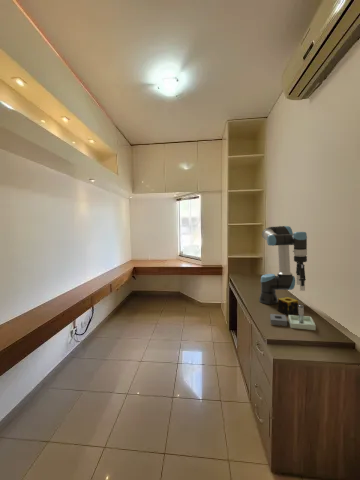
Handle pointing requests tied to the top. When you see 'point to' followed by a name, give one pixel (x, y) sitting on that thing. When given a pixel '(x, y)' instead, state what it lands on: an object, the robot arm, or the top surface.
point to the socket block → (278, 319)
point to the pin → (301, 314)
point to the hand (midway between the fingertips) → (300, 287)
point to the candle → (288, 306)
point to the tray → (307, 324)
